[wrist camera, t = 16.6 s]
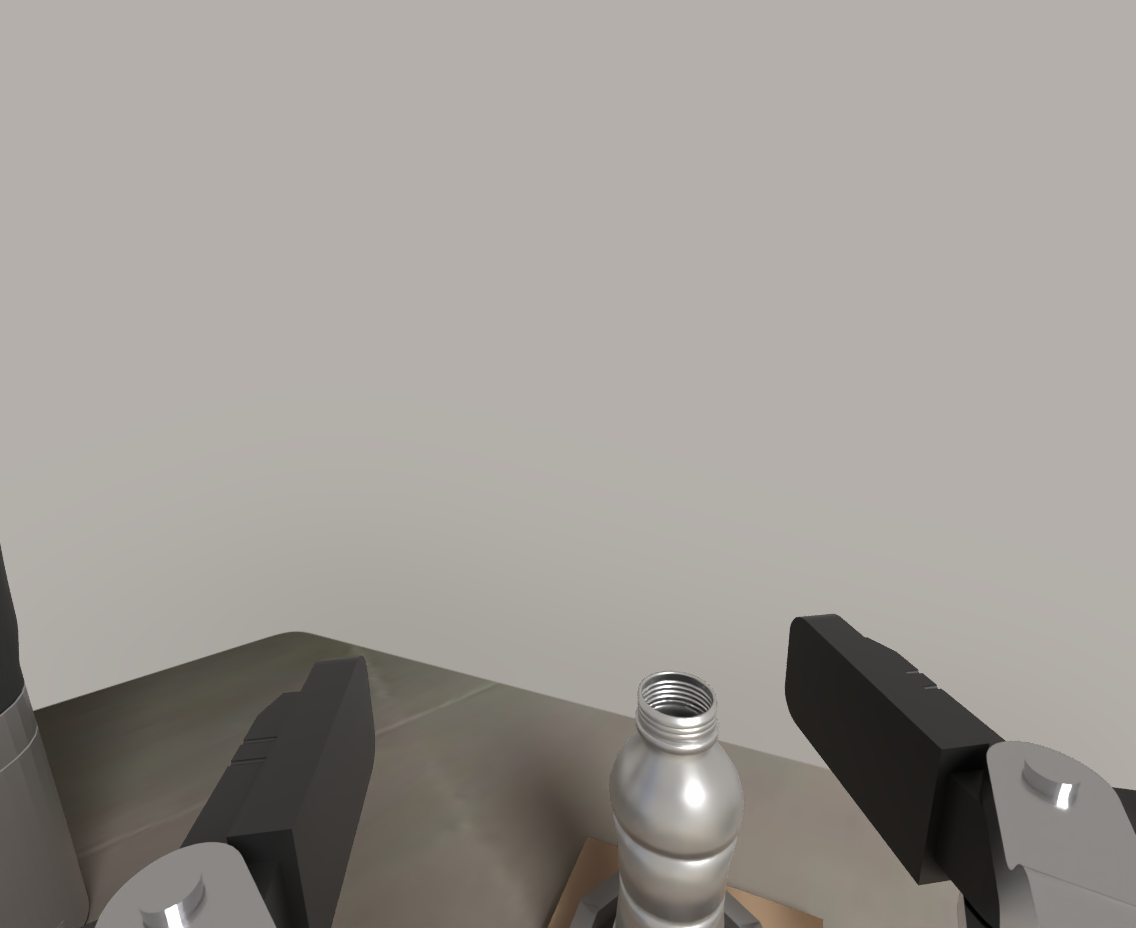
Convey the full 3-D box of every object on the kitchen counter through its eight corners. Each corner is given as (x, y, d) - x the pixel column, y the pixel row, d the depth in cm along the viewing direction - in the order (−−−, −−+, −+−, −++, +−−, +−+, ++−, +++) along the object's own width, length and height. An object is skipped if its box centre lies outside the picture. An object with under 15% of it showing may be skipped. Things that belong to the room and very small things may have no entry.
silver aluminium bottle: (640, 919, 36) (644, 640, 31) (746, 988, 32) (769, 682, 27) (584, 1019, 31) (578, 704, 26) (701, 1115, 27) (720, 767, 22)
